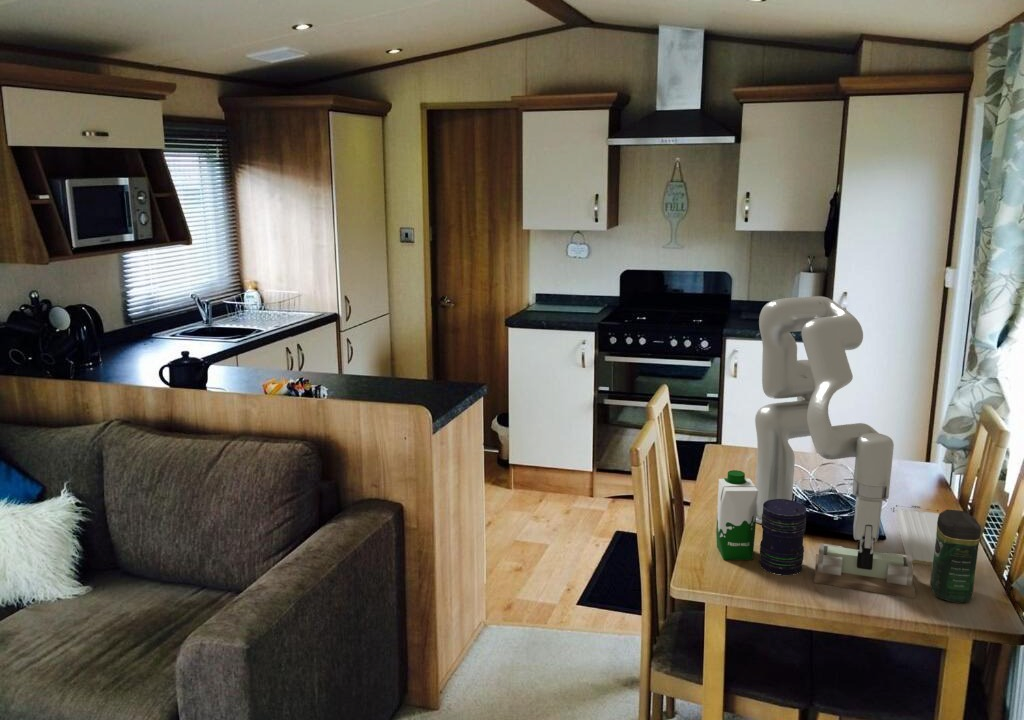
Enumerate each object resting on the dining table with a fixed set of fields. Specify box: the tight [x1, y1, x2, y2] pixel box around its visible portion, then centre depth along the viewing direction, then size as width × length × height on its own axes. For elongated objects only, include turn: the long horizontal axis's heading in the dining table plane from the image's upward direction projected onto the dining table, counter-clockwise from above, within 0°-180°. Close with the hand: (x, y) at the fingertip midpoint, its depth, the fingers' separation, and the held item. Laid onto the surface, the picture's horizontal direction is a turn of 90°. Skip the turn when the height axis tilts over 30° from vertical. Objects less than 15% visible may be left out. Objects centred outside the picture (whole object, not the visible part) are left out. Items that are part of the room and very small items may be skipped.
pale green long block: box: [827, 546, 904, 579], centre depth 195 cm, size 16×4×4 cm, turn 69°
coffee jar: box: [929, 508, 982, 604], centre depth 186 cm, size 10×8×19 cm
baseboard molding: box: [890, 504, 940, 566], centre depth 216 cm, size 31×3×12 cm
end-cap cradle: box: [814, 543, 915, 599], centre depth 195 cm, size 21×12×6 cm, turn 69°
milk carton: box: [715, 469, 758, 561], centre depth 206 cm, size 9×9×20 cm
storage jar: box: [759, 499, 807, 576], centre depth 200 cm, size 10×10×15 cm
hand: (864, 562), depth 195 cm, fingers open, 4 cm apart
